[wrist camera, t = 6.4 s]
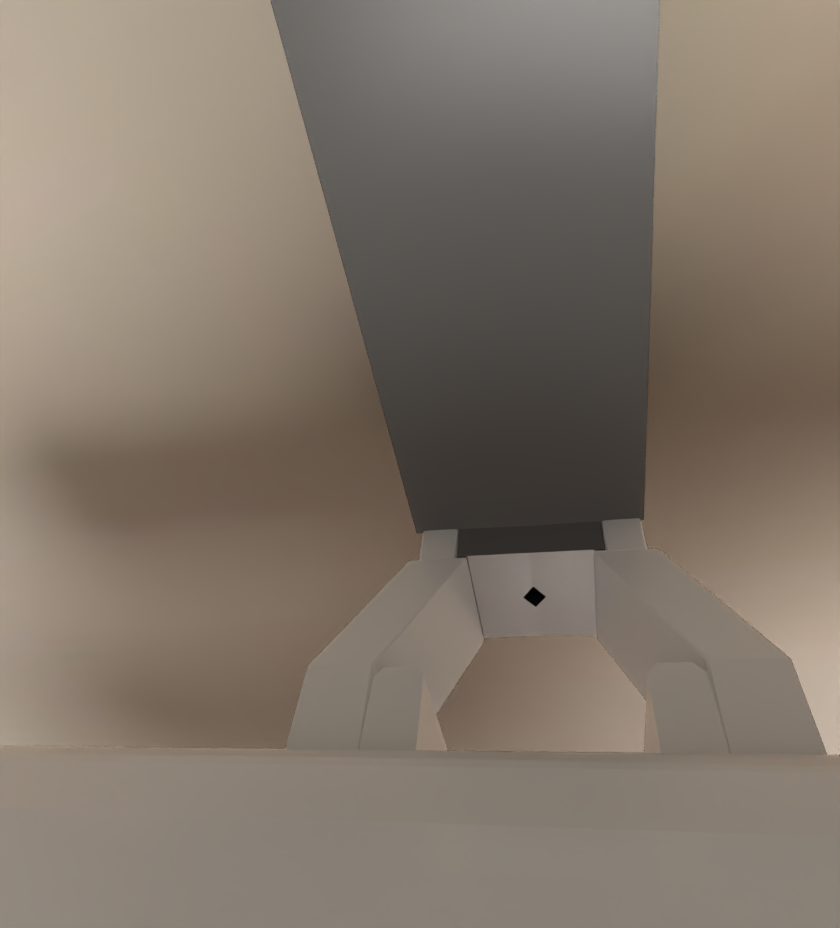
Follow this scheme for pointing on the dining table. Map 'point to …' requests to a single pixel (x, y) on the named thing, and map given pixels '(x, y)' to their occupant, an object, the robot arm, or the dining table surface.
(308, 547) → the dining table surface
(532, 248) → the plug
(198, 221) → the dining table surface
